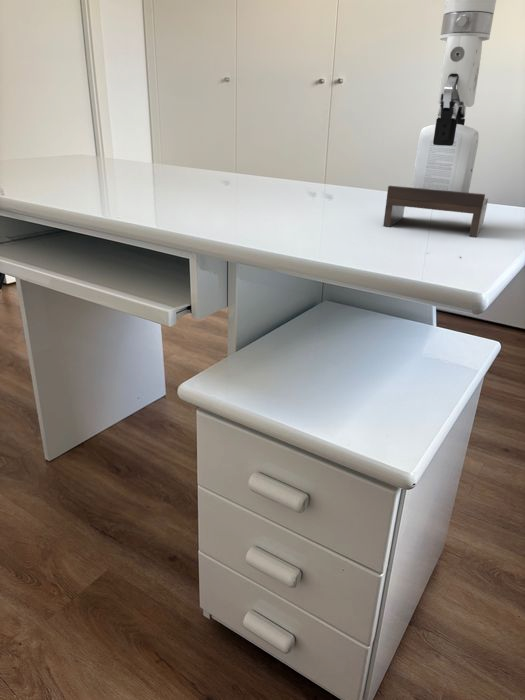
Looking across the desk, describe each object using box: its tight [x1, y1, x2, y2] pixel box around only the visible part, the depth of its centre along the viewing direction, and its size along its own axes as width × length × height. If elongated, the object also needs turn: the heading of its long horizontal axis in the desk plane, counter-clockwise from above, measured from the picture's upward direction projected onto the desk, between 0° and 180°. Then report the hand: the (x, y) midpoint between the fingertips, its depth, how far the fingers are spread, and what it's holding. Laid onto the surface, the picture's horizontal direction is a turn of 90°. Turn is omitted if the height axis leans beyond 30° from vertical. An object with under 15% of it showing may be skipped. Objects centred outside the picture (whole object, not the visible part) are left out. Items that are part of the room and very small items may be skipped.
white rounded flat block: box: [410, 123, 480, 193], centre depth 94 cm, size 10×4×12 cm, turn 52°
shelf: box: [382, 185, 489, 238], centre depth 97 cm, size 11×16×7 cm
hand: (447, 143), depth 92 cm, fingers open, 9 cm apart
